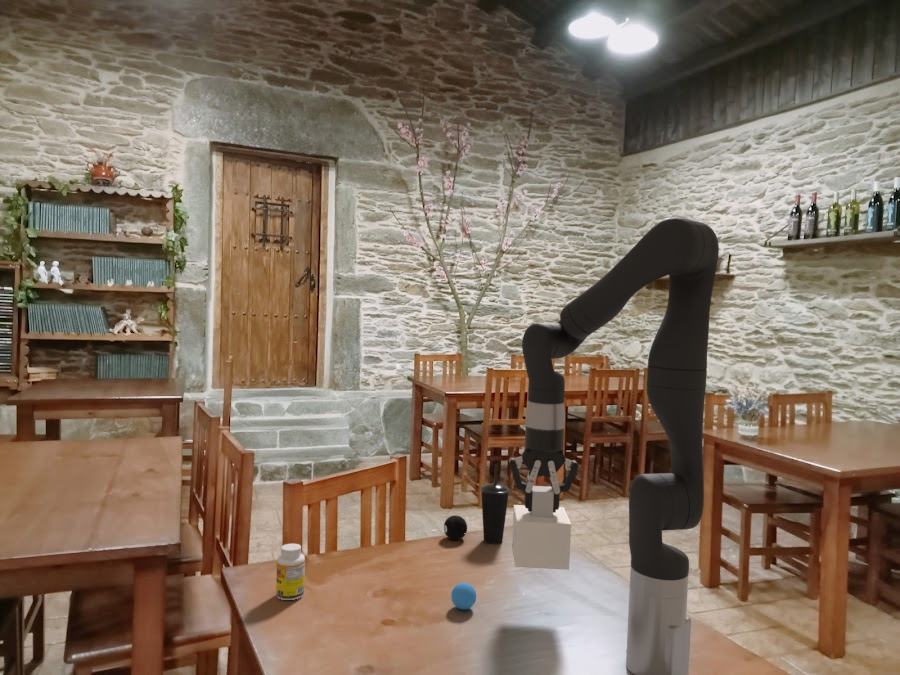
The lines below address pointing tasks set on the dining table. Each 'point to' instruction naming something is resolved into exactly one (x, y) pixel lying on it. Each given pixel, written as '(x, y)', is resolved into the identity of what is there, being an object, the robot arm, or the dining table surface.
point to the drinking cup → (494, 510)
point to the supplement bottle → (290, 572)
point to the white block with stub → (541, 533)
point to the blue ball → (463, 596)
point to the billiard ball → (455, 527)
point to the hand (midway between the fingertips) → (541, 510)
